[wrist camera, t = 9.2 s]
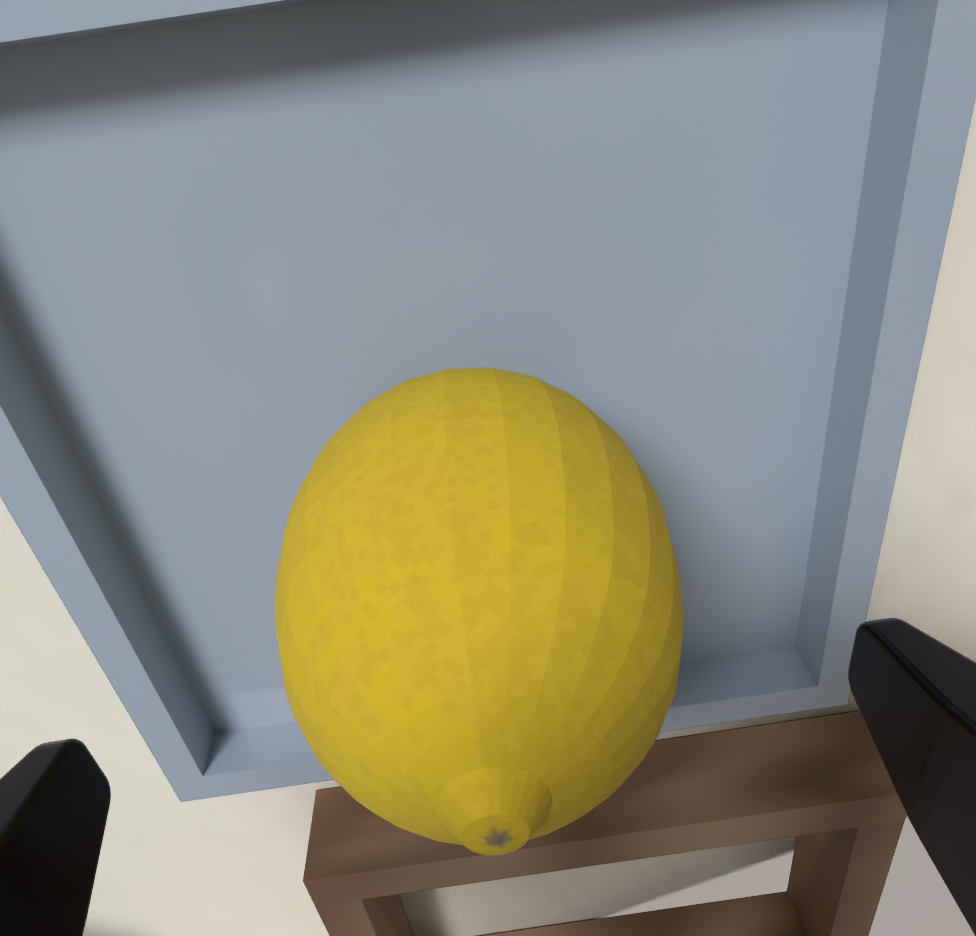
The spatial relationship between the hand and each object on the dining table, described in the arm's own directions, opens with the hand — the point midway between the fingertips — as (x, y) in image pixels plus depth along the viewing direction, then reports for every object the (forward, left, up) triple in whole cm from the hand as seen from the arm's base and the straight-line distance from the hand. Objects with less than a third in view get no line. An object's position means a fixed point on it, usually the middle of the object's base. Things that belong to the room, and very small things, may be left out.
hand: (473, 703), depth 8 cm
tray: (0, 0, -7) cm, 7 cm away
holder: (-2, +16, -7) cm, 18 cm away
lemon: (0, 0, -7) cm, 7 cm away
